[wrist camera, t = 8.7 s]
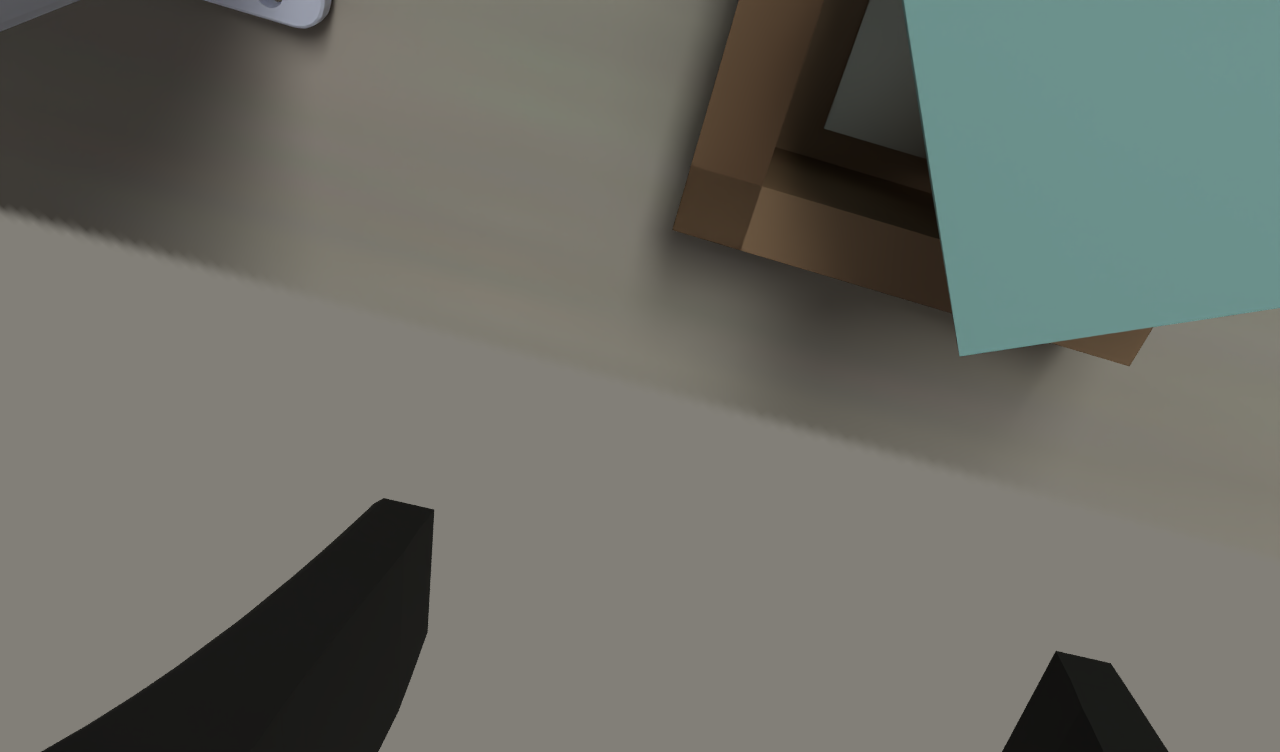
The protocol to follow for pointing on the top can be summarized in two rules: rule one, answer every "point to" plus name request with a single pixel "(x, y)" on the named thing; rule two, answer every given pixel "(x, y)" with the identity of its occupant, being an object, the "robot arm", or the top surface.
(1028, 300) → the block
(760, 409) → the top surface
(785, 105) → the tray
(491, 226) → the top surface
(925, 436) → the top surface
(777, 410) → the top surface
